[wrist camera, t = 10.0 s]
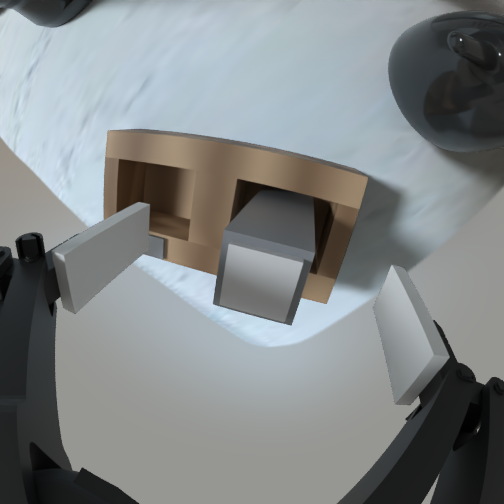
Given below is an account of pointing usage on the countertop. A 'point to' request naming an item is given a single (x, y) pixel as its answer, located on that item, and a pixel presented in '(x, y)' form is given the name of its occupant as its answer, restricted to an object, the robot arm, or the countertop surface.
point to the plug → (267, 255)
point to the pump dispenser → (452, 79)
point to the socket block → (225, 195)
